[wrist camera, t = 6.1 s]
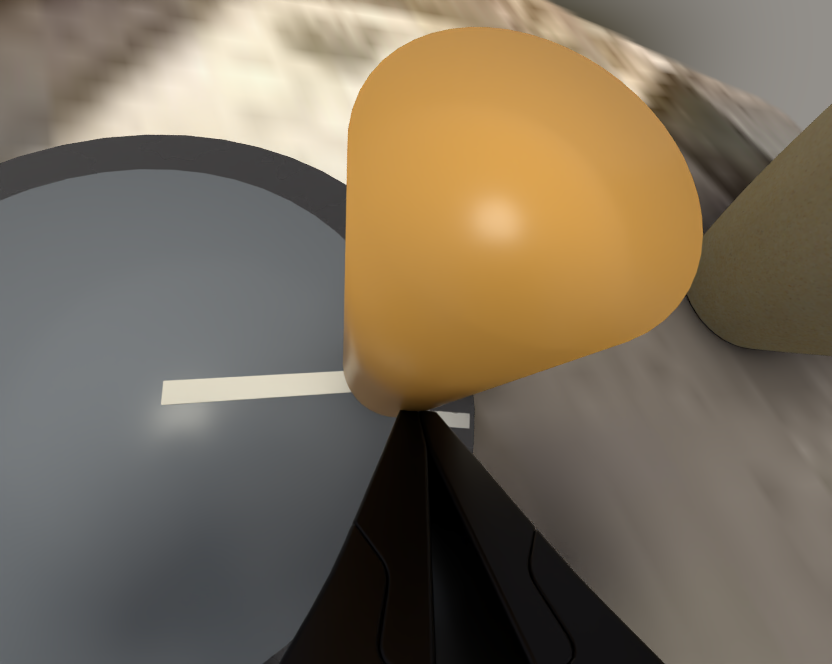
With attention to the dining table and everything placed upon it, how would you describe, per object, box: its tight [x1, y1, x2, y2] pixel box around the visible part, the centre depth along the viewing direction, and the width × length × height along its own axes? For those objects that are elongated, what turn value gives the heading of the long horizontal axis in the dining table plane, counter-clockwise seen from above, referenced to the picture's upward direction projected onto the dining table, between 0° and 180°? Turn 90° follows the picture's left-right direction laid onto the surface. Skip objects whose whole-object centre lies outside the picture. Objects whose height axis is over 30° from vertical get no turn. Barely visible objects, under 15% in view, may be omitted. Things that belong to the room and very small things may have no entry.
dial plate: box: [0, 135, 475, 664], centre depth 14 cm, size 24×24×2 cm
